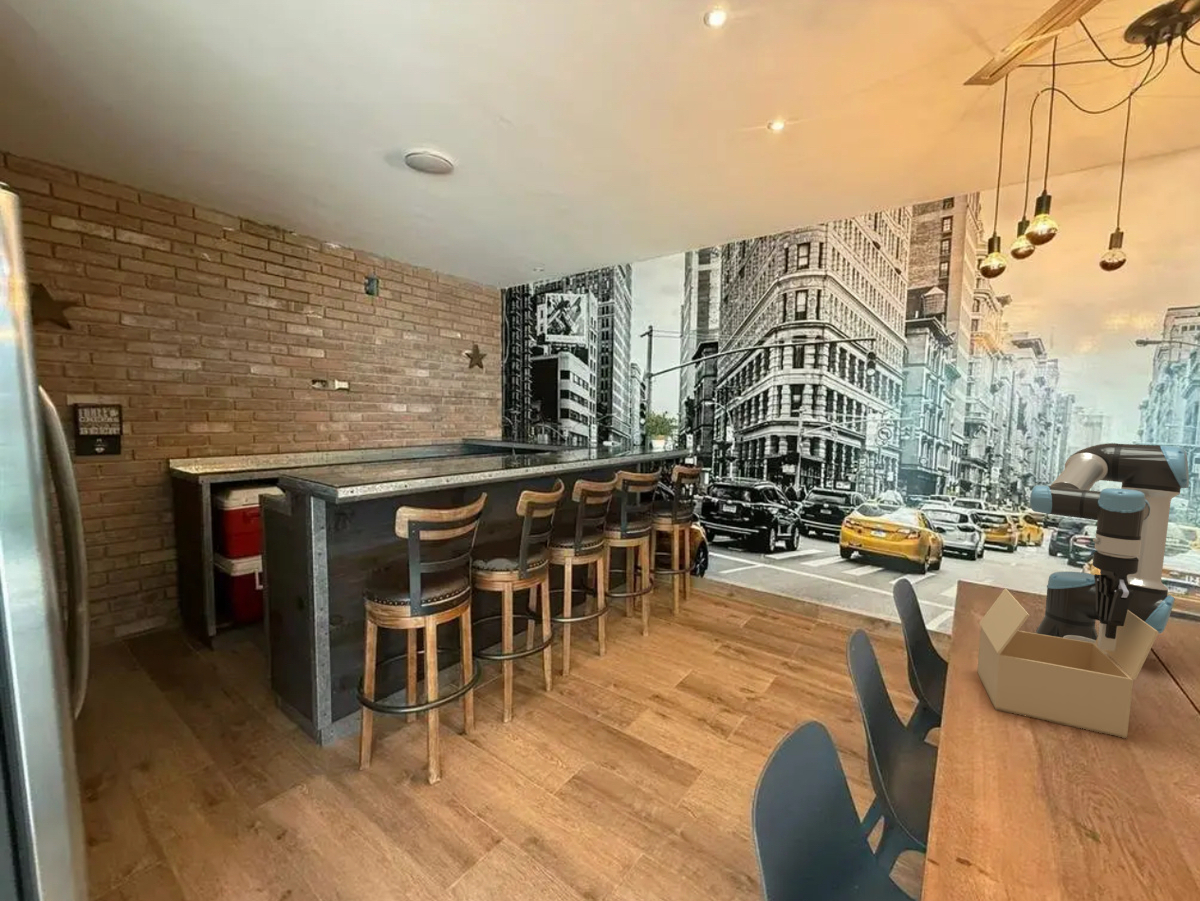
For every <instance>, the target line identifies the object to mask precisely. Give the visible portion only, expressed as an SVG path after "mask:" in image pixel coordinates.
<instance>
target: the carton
mask: <svg viewBox="0 0 1200 901" xmlns="http://www.w3.org/2000/svg"><path fill="white" fill-rule="evenodd" d="M979 631H980V632H979V645H978V646H979V647H978V655H977V656H978V657H977V658H978V659H977V668H976V669H977V670H976V673H977V675H978V676H979V679H980V681H981V684H982V685H983V687H984V689H985V691H986V694H987V696H988V697H989V700H990V702H991V703H992V706H993V708H994V710H995V711H999V712H1004V713H1009V714H1012V713H1014V714H1013V715H1017V714H1019V715H1018V716H1021V715H1026V716H1030V717H1034V718H1033V719H1035V718H1037V719H1036V720H1039V719H1042V720H1041V721H1044V720H1047V721H1046V722H1048V721H1049V722H1050V723H1052V724H1053V723H1054V724H1058V725H1062V726H1068V727H1071V728H1075V727H1076V729H1080V728H1081V730H1084V729H1086V730H1085V731H1089V730H1090V732H1093V731H1094V733H1098V732H1099V734H1102V733H1105V734H1104V735H1107V734H1110V735H1109V736H1111V735H1115V736H1114V737H1116V736H1118V737H1117V738H1120V737H1122V738H1121V739H1125V738H1126V740H1128V731H1129V723H1130V713H1131V706H1132V704H1131V703H1132V696H1133V687H1134V679H1133V678H1132V677H1131V676H1130V675H1129V674H1128V673H1127V672H1125V671H1124V670H1123V669H1122V668H1121V667H1120V666H1119V665H1118V664H1117V663H1116V662H1115V661H1114V660H1113V659H1112V658H1111V657H1110V656H1109V655H1107V654H1106V653H1105V652H1104V651H1102V650H1101V649H1099V648H1098V647H1097V645H1096V644H1095V643H1091V642H1085V641H1079V640H1073V639H1067V638H1061V637H1055V636H1049V635H1043V634H1037V633H1036V632H1029V631H1024V630H1018V631H1017V632H1016V634H1015V635H1014V636H1013V638H1012V639H1011V640H1010V641H1009V643H1008V644H1007V645H1006V647H1005V648H1004V649H1003V651H1002V652H1001V653H1000V654H998V653H997V651H996V650H995V648H994V646H993V645H992V643H991V641H990V640H989V638H988V637H987V635H986V633H985V632H984V630H983V628H982V627H981V626H980V630H979ZM1026 716H1025V717H1026ZM1030 717H1029V718H1030ZM1082 728H1083V729H1082Z"/></svg>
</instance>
